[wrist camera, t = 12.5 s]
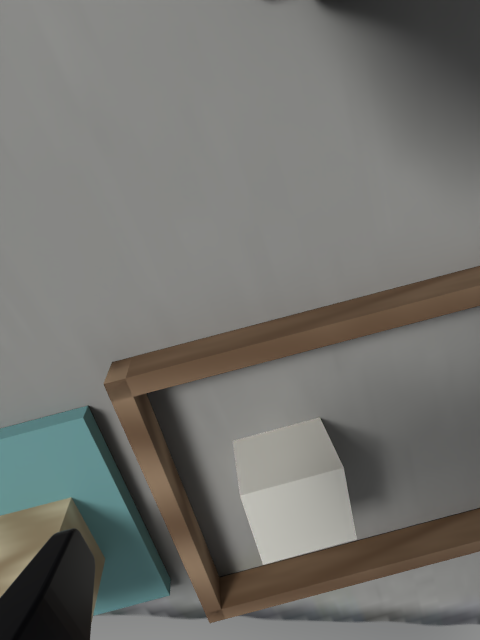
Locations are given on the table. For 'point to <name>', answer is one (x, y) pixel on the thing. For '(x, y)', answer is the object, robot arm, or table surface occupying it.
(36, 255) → the table surface
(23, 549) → the labelled birch box
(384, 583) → the table surface
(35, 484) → the slate-teal mat
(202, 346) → the walnut tray
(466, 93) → the table surface
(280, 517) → the plain short box
